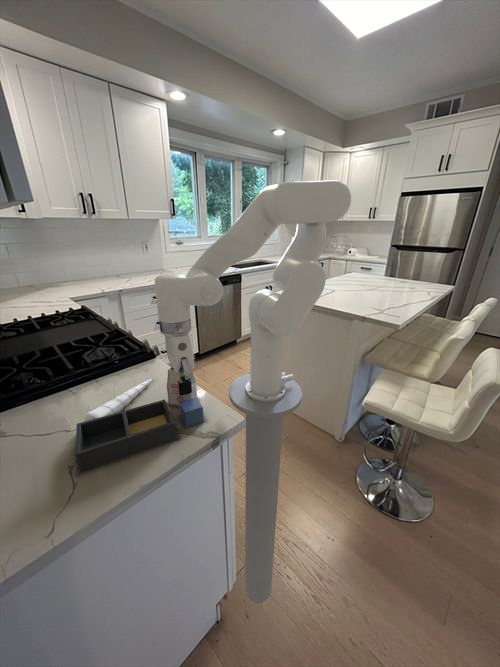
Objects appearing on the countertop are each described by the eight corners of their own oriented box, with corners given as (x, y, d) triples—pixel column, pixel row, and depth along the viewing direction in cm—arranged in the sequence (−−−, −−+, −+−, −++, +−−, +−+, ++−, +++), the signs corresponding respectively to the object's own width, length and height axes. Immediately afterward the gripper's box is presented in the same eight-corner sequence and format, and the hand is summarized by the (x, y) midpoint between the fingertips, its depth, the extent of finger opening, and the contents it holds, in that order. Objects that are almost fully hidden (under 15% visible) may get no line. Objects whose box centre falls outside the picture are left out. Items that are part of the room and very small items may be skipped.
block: (197, 411, 73) (196, 397, 72) (203, 421, 70) (202, 406, 68) (181, 416, 71) (179, 402, 70) (186, 427, 68) (184, 412, 66)
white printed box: (174, 396, 79) (171, 366, 75) (197, 399, 78) (194, 368, 74) (168, 404, 76) (165, 372, 72) (192, 407, 75) (189, 375, 71)
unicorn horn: (162, 382, 86) (160, 369, 84) (100, 434, 65) (96, 418, 63) (149, 379, 87) (147, 366, 85) (85, 429, 66) (80, 413, 65)
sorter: (166, 413, 72) (164, 399, 70) (176, 439, 64) (174, 423, 62) (81, 439, 64) (76, 423, 62) (80, 472, 55) (75, 455, 54)
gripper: (202, 334, 63) (205, 399, 70) (180, 313, 77) (185, 368, 84) (168, 340, 59) (176, 408, 66) (153, 317, 74) (160, 374, 80)
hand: (181, 385), depth 75 cm, fingers closed on white printed box, 7 cm apart
